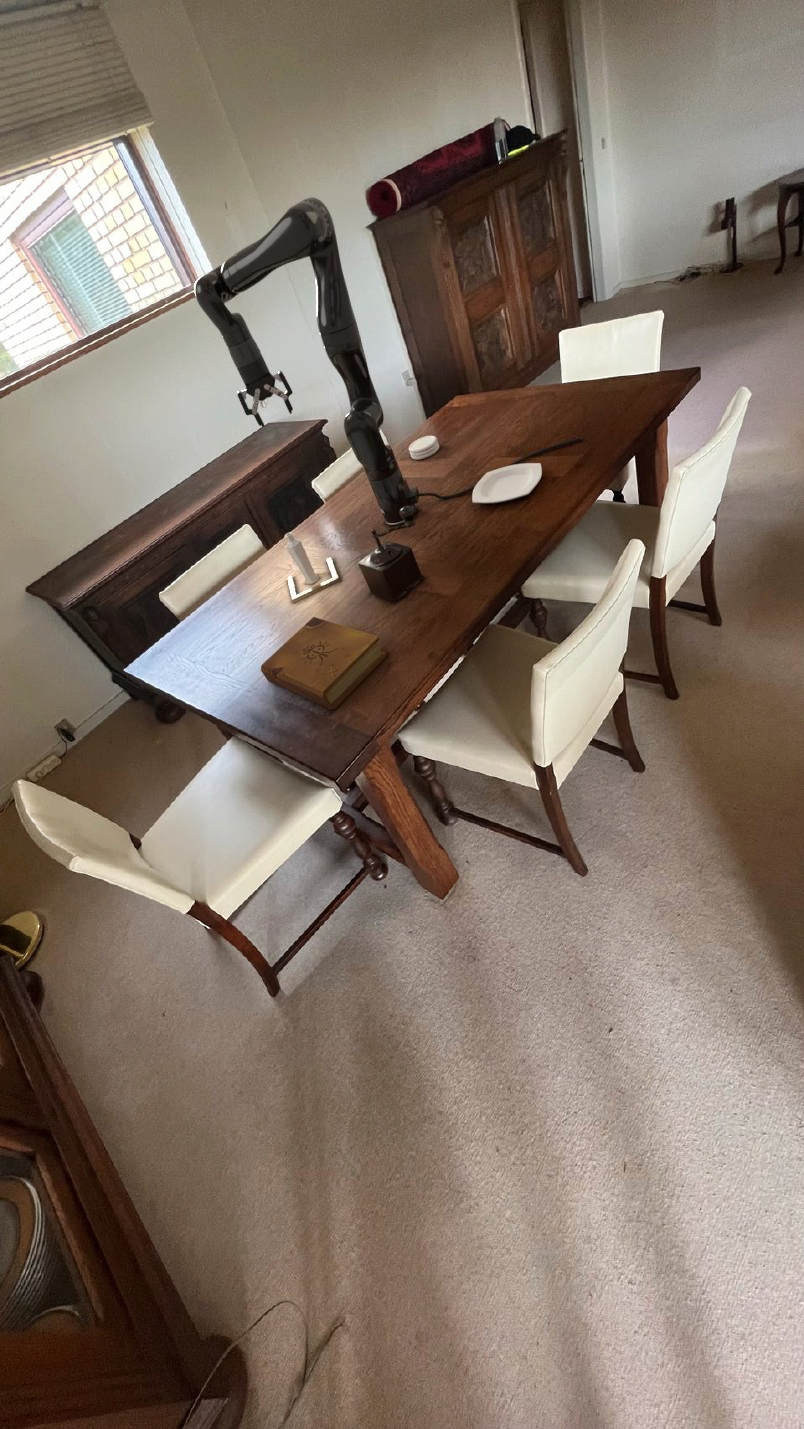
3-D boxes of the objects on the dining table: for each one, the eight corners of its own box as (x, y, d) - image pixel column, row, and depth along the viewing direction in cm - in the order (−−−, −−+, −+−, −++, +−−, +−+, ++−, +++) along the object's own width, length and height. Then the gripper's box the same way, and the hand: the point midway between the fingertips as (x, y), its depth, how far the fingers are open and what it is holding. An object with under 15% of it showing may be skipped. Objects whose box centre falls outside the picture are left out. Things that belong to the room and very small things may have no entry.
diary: (270, 685, 148) (258, 667, 144) (323, 634, 155) (313, 616, 151) (331, 712, 133) (320, 693, 129) (387, 655, 140) (377, 635, 136)
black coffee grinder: (396, 603, 153) (369, 541, 141) (370, 593, 160) (341, 533, 149) (440, 567, 157) (417, 503, 146) (412, 559, 165) (388, 497, 153)
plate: (466, 512, 172) (464, 506, 171) (484, 476, 183) (482, 470, 182) (534, 502, 163) (533, 496, 161) (549, 465, 174) (548, 458, 173)
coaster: (444, 443, 210) (441, 433, 208) (431, 459, 205) (427, 449, 203) (420, 446, 216) (417, 436, 213) (406, 461, 211) (402, 451, 209)
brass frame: (288, 580, 181) (286, 578, 181) (332, 560, 181) (330, 557, 180) (293, 602, 171) (291, 600, 171) (340, 581, 171) (338, 578, 170)
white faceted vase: (318, 583, 174) (293, 537, 164) (304, 586, 176) (279, 540, 166) (322, 573, 177) (298, 527, 167) (308, 576, 179) (284, 531, 169)
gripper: (224, 374, 162) (255, 434, 173) (273, 350, 162) (301, 411, 172) (223, 368, 168) (253, 427, 179) (271, 345, 167) (298, 405, 178)
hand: (277, 419), depth 176 cm, fingers open, 8 cm apart
